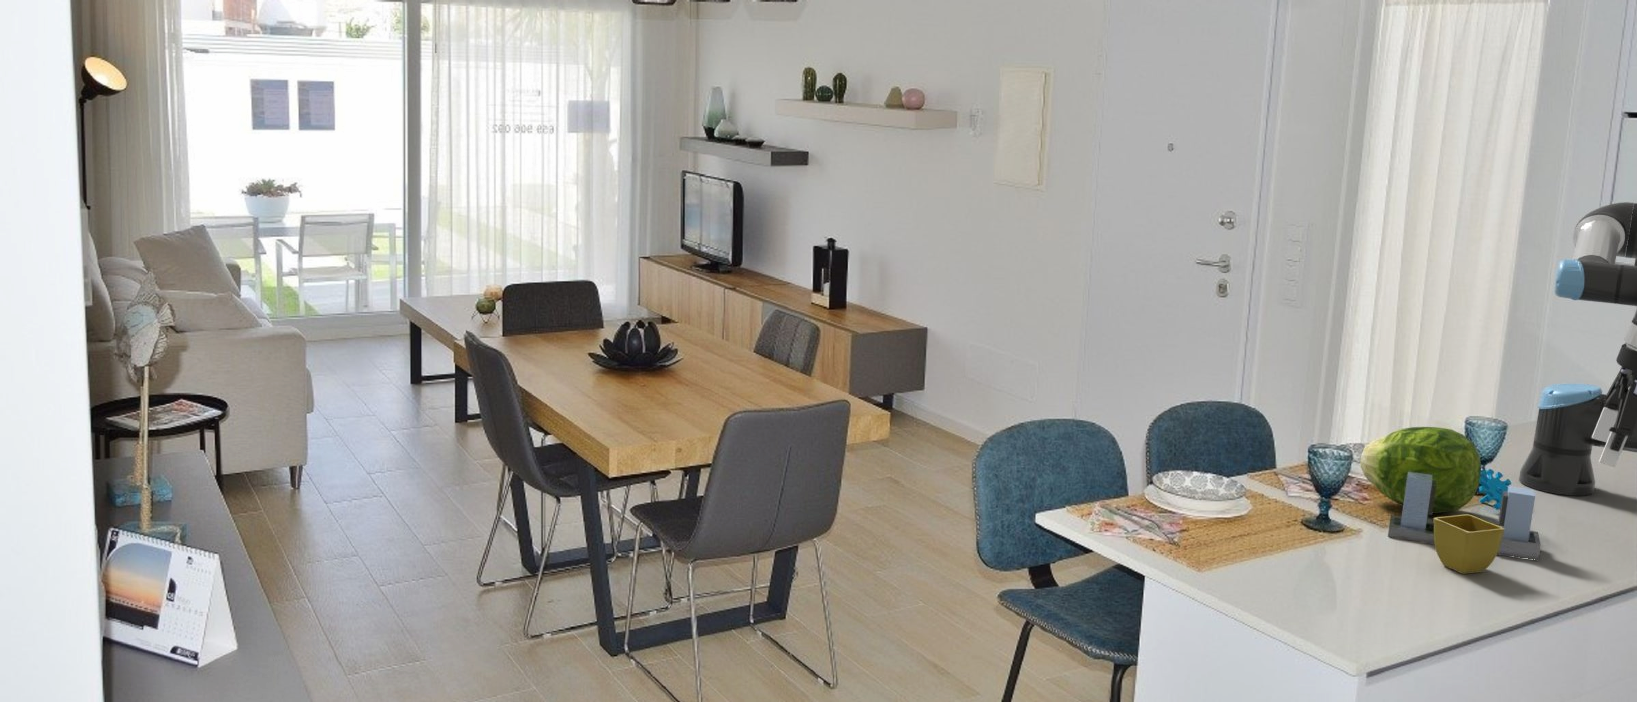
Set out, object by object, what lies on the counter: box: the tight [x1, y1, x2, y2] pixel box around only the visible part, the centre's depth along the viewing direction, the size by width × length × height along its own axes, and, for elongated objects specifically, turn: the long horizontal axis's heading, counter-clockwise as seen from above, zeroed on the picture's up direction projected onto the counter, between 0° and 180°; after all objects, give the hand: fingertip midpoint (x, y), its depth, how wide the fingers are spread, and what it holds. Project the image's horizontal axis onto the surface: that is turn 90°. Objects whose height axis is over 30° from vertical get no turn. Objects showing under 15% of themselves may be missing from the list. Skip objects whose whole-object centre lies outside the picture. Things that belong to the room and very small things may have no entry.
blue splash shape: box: [1478, 468, 1512, 511], centre depth 299 cm, size 11×6×10 cm
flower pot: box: [1433, 513, 1504, 575], centre depth 259 cm, size 9×9×9 cm
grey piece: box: [1387, 472, 1542, 561], centre depth 273 cm, size 9×27×12 cm, turn 66°
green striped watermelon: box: [1359, 426, 1482, 514], centre depth 293 cm, size 19×23×18 cm
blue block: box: [1498, 485, 1536, 542], centre depth 270 cm, size 4×5×10 cm
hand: (1602, 452), depth 266 cm, fingers open, 13 cm apart
